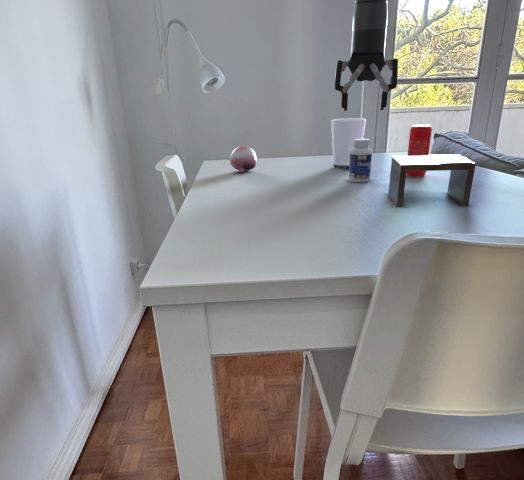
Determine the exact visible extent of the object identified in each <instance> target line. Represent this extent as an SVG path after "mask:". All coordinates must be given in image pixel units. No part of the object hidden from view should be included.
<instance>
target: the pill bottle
mask: <svg viewBox="0 0 524 480" xmlns="http://www.w3.org/2000/svg"><path fill="white" fill-rule="evenodd" d="M370 145H371V139H370V138H364V137H363V138H361V139H354V142H353V146H354V148H353V149H351V151H350V164H349V168H348V181H350V182H353V183H364V182H365V183H367V182H369V181H370V180H371V171H372V157H373V150H372V149H371V148H370Z"/></svg>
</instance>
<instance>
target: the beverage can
mask: <svg viewBox="0 0 524 480" xmlns="http://www.w3.org/2000/svg"><path fill="white" fill-rule="evenodd" d="M432 132H433V128H432V125H431V124H413V125H411V127H410V129H409V137H408V147H407V155H406V156H421V155H430V146H431V140H432V139H431V138H432ZM426 173H427V171H407V172H406V177H408V178H424V177H425V175H426Z"/></svg>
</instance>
